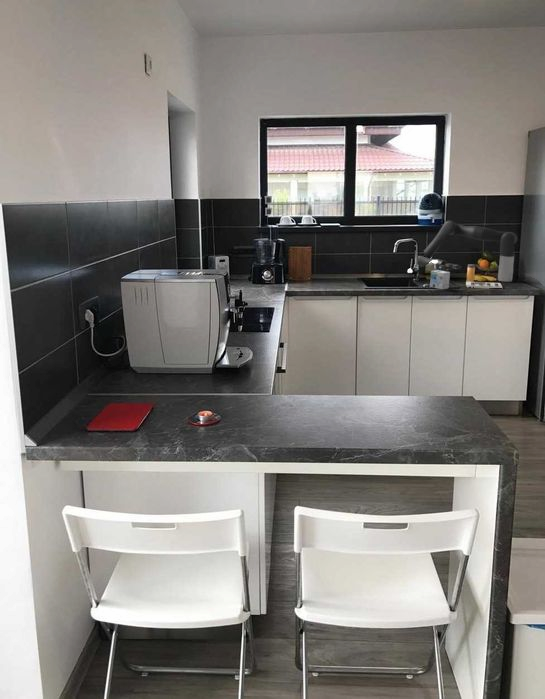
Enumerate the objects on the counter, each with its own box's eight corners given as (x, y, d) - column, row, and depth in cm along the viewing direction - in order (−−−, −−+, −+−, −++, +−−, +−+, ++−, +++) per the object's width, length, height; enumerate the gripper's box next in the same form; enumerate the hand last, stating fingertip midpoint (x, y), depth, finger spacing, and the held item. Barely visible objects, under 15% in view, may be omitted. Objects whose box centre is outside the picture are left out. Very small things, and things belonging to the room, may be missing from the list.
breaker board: (499, 285, 455) (500, 281, 455) (502, 289, 442) (502, 285, 442) (466, 283, 460) (466, 279, 459) (467, 287, 447) (467, 283, 446)
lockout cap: (473, 282, 467) (475, 264, 463) (473, 283, 462) (475, 265, 459) (466, 281, 468) (467, 264, 464) (466, 282, 463) (468, 265, 460)
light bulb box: (429, 287, 447) (430, 270, 444) (436, 285, 451) (437, 269, 448) (442, 289, 439) (443, 272, 436) (449, 288, 443) (450, 272, 440)
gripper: (432, 260, 478) (451, 263, 466) (445, 259, 487) (464, 262, 474) (431, 271, 480) (450, 274, 468) (444, 269, 489) (463, 272, 477)
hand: (457, 268), depth 471 cm, fingers open, 8 cm apart
